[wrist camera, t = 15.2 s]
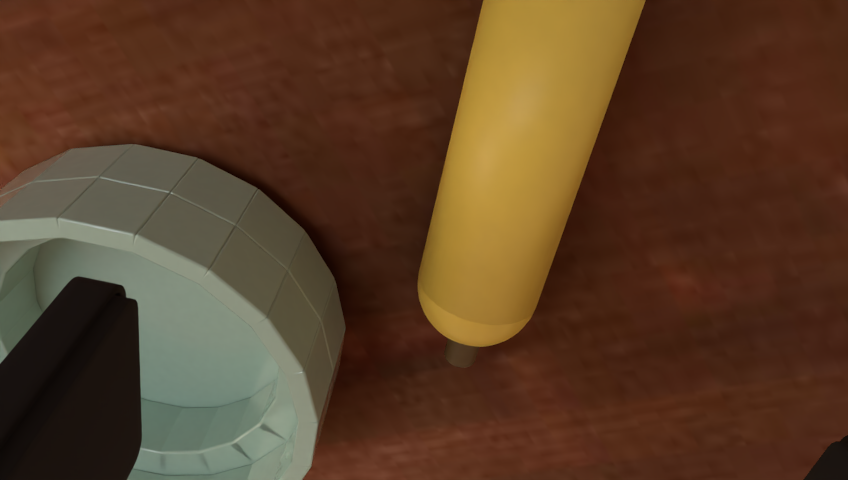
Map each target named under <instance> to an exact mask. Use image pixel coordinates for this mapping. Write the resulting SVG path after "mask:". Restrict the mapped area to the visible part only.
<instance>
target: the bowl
mask: <svg viewBox="0 0 848 480" xmlns="http://www.w3.org/2000/svg"><path fill="white" fill-rule="evenodd" d="M77 276H80V277H85V278H90V279H95V280H100V281H105V282H110V283H115V284H120V285H122V286H123V287H124V289H125V291H126V297H127V298H132V299H135V300H136V301H137V303H138V317H139V351H140V385H141V419H142V442H141V447H140V451H139V455H138V458H137V460H136V463H135V465H134V467H133V469H132V471H131V473H130V475H129V477H128V478H127V480H302V479H303V478H304V477H305V475H306V474H307V472H308V471H309V470H310V468H311V466H312V463H313V459H314V456H315V452H316V448H317V445H318V441H319V438H320V434H321V430H322V427H323V423H324V420H325V416H326V412H327V409H328V405H329V401H330V398H331V394H332V391H333V387H334V383H335V380H336V376H337V373H338V369H339V364H340V358H341V353H342V347H343V341H344V336H345V330H346V328H345V322H344V317H343V312H342V308H341V303H340V299H339V294H338V290H337V285H336V281H335V278H334V276H333V275H332V273H331V272H330V270H329V268H328V267H327V265H326V263H325V262H324V260H323V259H322V257H321V255H320V254H319V252H318V250H317V249H316V247H315V246H314V244H313V242H312V241H311V239H310V237H309V236H308V234H307V233H306V232H305V230H304V229H303V228H302V227H301V226H300V225H299V224H297V223H296V222H295V221H294V220H293V219H292V218H291V217H290V216H289V215H287V214H286V213H285V212H284V211H283V210H282V209H281V208H280V207H279V206H277V205H276V204H275V203H274V202H273V201H272V200H271V199H270V198H269V197H267V196H266V195H265V194H264V193H263V192H262V191H261V190H260V189H258V188H257V187H255V186H253V185H251V184H249V183H247V182H245V181H243V180H241V179H239V178H237V177H235V176H233V175H231V174H229V173H227V172H225V171H223V170H221V169H219V168H218V167H216V166H214V165H212V164H210V163H208V162H206V161H204V160H202V159H198V158H197V157H193V156H188V155H184V154H179V153H174V152H170V151H165V150H161V149H156V148H151V147H147V146H142V145H137V144H125V145H112V146H99V147H87V148H74V149H70V150H68V151H66V152H63V153H61V154H59V155H57V156H55V157H53V158H50V159H48V160H46V161H44V162H42V163H40V164H37V165H35V166H33V167H31V168H29V169H26V170H25V171H23V172H22V173H21V174H19V175H18V176H17V177H16V178H14V179H13V180H12V181H11V182H9V183H8V184H7V185H6V186H4V187H3V188H2V189H1V190H0V363H1V362H2V361H3V360H4V359H5V357H6V356H7V355H8V354H9V353H10V351H11V350H12V349H13V348H14V347H15V346H16V344H17V343H18V342H19V341H20V340H21V338H22V337H23V336H24V335H25V334H26V332H27V331H28V330H29V329H30V328H31V326H32V325H33V324H34V323H35V322H36V320H37V319H38V318H39V317H40V316H41V314H42V313H43V312H44V311H45V310H46V308H47V307H48V306H49V305H50V304H51V302H52V301H53V300H54V299H55V298H56V296H57V295H58V294H59V293H60V292H61V291H62V289H63V288H64V287H65V286H66V285H67V283H68V282H69V281H70V280H71V279H73V278H74V277H77Z"/></svg>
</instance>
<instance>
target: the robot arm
mask: <svg viewBox="0 0 848 480" xmlns="http://www.w3.org/2000/svg"><path fill="white" fill-rule="evenodd" d="M141 442H142V419H141V385H140V351H139V317H138V303H137V301H136V300H135V299H132V298H127V297H126V291H125V289H124V287H123V286H122V285H120V284H115V283H110V282H105V281H100V280H95V279H90V278H85V277H80V276H77V277H74V278H73V279H71V280H70V281H69V282H68V283H67V285H66V286H65V287H64V288H63V289H62V291H61V292H60V293H59V294H58V295H57V296H56V298H55V299H54V300H53V301H52V302H51V304H50V305H49V306H48V307H47V308H46V310H45V311H44V312H43V313H42V314H41V316H40V317H39V318H38V319H37V320H36V322H35V323H34V324H33V325H32V326H31V328H30V329H29V330H28V331H27V332H26V334H25V335H24V336H23V337H22V338H21V340H20V341H19V342H18V343H17V344H16V346H15V347H14V348H13V349H12V350H11V351H10V353H9V354H8V355H7V356H6V357H5V359H4V360H3V361H2V362H1V363H0V480H127V478H128V477H129V475H130V473H131V471H132V469H133V467H134V465H135V463H136V460H137V458H138V455H139V451H140V447H141ZM804 480H848V435H847V436H845V437H844V438H843V439H842V440H841V441H840V442H834V443H832V444H831V445H830V446H829V447H828V448H827V449H826V450H825V452H824V453H823V454H822V456H821V457H820V458H819V460H818V461H817V462H816V464H815V465H814V466H813V468H812V469H811V471H810V472H809V473H808V475H807V476H806V477H805V479H804Z"/></svg>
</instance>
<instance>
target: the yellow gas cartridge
mask: <svg viewBox="0 0 848 480" xmlns="http://www.w3.org/2000/svg"><path fill="white" fill-rule="evenodd" d="M645 1H646V0H483V4H482V8H481V12H480V16H479V21H478V25H477V29H476V33H475V37H474V42H473V46H472V50H471V54H470V59H469V63H468V67H467V71H466V75H465V80H464V84H463V88H462V92H461V96H460V101H459V105H458V109H457V113H456V117H455V122H454V126H453V130H452V134H451V139H450V143H449V147H448V151H447V155H446V160H445V164H444V168H443V172H442V176H441V181H440V185H439V189H438V193H437V198H436V202H435V206H434V210H433V214H432V219H431V223H430V227H429V231H428V235H427V240H426V244H425V248H424V252H423V256H422V261H421V265H420V269H419V275H418V295H419V300H420V303H421V306H422V309H423V311H424V314H425V315H426V317H427V319H428V320H429V321H430V323H431V324H432V325H433V326H434V327H435V328H436V329H437V331H438V332H440V333H441V334H442V335H444V336H445V337H447V338H448V341H447V344H446V348H445V351H444V355H445V358H446V360H447V361H448V362H449V363H450V364H452V365H454V366H457V367H462V368H464V367H469V366H471V365H472V364H473V363H474V362H475V359H476V356H477V353H478V350H479V347H485V346H491V345H495V344H498V343H501V342H504V341H506V340H508V339H509V338H511V337H512V336H514V335H515V334H517V333H518V332H520V330H521V329H522V328H523V327H524V326H525V325H526V324H527V322H528V321H529V320H530V319H531V317H532V315H533V313H534V311H535V309H536V306H537V304H538V301H539V298H540V295H541V292H542V290H543V287H544V284H545V281H546V278H547V276H548V273H549V270H550V267H551V264H552V262H553V259H554V256H555V253H556V250H557V248H558V245H559V242H560V239H561V236H562V233H563V231H564V228H565V225H566V222H567V219H568V217H569V214H570V211H571V208H572V205H573V203H574V200H575V197H576V194H577V191H578V189H579V186H580V183H581V180H582V177H583V175H584V172H585V169H586V166H587V163H588V161H589V158H590V155H591V152H592V149H593V146H594V144H595V141H596V138H597V135H598V132H599V130H600V127H601V124H602V121H603V118H604V116H605V113H606V110H607V107H608V104H609V102H610V99H611V96H612V93H613V90H614V88H615V85H616V82H617V79H618V76H619V74H620V71H621V68H622V65H623V62H624V59H625V57H626V54H627V51H628V48H629V45H630V43H631V40H632V37H633V34H634V31H635V29H636V26H637V23H638V20H639V17H640V15H641V12H642V9H643V6H644V3H645Z"/></svg>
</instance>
